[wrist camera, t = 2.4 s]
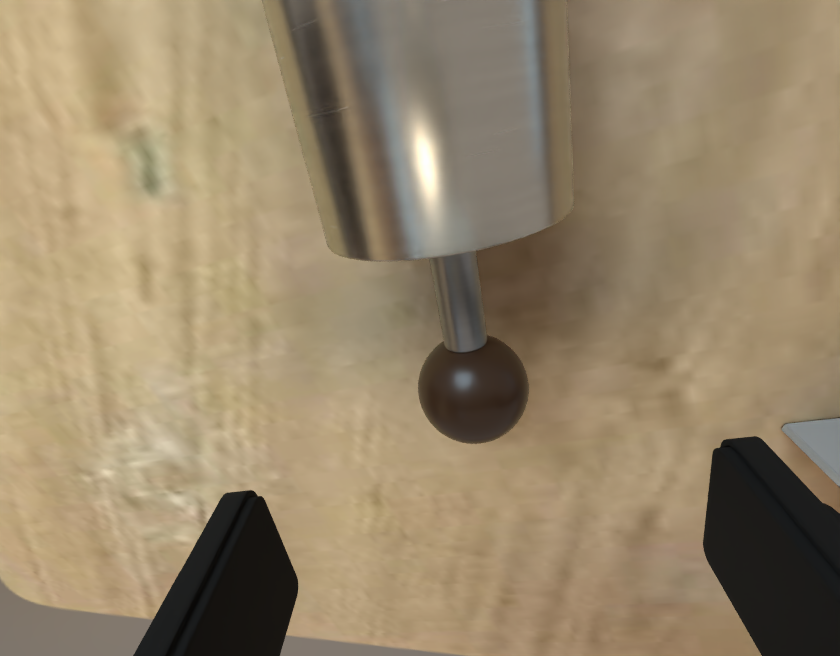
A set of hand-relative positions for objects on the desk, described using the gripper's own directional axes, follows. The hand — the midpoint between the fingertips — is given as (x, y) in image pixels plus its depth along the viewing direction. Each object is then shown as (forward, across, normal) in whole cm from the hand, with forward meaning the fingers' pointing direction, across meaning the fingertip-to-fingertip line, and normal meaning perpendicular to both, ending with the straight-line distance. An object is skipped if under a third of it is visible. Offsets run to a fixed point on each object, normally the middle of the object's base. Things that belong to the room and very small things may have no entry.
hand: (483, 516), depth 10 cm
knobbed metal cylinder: (+7, 0, -7) cm, 10 cm away
